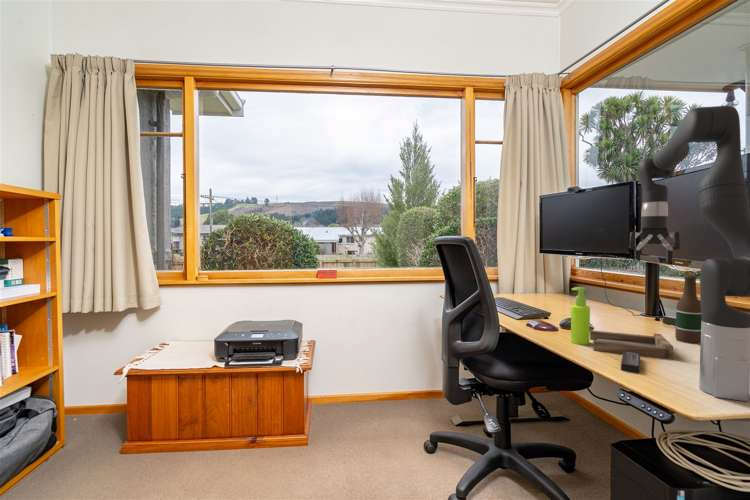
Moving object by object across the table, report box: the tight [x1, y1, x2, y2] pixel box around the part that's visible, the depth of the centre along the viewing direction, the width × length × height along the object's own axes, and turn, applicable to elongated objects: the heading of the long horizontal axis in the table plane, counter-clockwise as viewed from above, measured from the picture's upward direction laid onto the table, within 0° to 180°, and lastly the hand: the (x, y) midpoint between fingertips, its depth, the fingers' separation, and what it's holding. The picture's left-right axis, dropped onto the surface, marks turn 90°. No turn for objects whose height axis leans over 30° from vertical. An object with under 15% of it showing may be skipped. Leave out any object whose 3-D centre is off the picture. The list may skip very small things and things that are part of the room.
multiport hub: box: [620, 351, 641, 374], centre depth 114 cm, size 4×14×2 cm, turn 144°
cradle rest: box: [589, 329, 674, 360], centre depth 130 cm, size 16×22×4 cm
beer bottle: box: [674, 274, 702, 345], centre depth 138 cm, size 8×8×24 cm
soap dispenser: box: [570, 286, 591, 346], centre depth 136 cm, size 6×7×20 cm
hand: (653, 261), depth 134 cm, fingers open, 8 cm apart
